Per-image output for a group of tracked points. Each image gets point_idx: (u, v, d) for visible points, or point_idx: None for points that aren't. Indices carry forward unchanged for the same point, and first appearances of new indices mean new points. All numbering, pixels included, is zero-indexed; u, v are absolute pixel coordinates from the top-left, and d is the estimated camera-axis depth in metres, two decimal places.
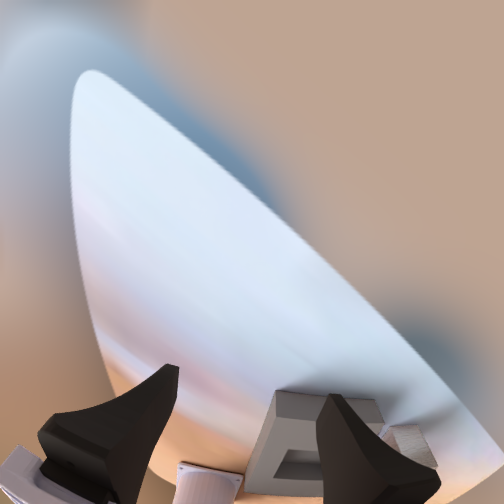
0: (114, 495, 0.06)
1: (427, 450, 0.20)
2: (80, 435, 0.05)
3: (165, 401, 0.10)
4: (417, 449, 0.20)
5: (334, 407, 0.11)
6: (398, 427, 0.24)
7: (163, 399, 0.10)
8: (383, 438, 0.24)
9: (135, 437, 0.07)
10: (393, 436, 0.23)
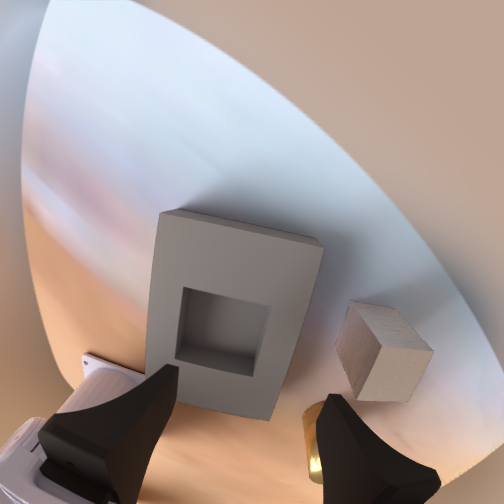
0: (114, 495, 0.06)
1: (413, 332, 0.17)
2: (80, 435, 0.05)
3: (165, 401, 0.10)
4: (395, 327, 0.17)
5: (334, 407, 0.11)
6: (363, 304, 0.21)
7: (163, 399, 0.10)
8: (344, 323, 0.21)
9: (135, 437, 0.07)
10: (355, 310, 0.20)
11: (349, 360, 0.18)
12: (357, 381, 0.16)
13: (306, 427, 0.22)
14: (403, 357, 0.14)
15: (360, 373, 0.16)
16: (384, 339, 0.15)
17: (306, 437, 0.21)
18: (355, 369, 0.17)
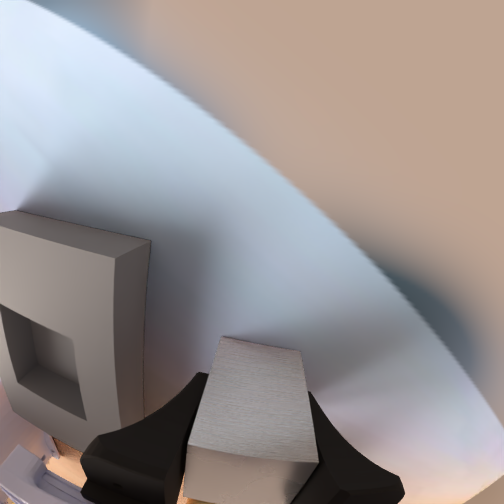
0: None
1: (300, 409, 0.09)
2: (132, 458, 0.05)
3: None
4: (265, 397, 0.10)
5: None
6: (242, 343, 0.13)
7: None
8: None
9: (181, 451, 0.07)
10: None
11: None
12: None
13: None
14: (243, 466, 0.07)
15: None
16: (211, 427, 0.08)
17: None
18: None
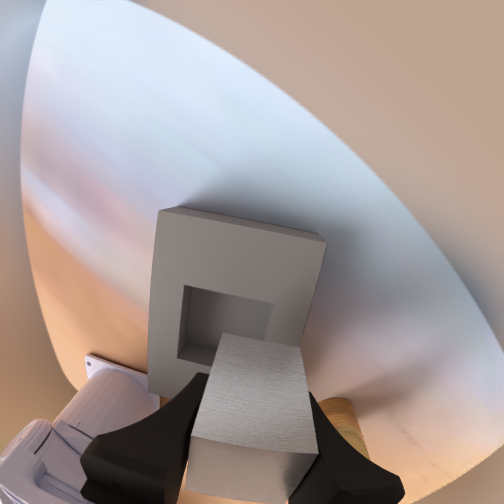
0: None
1: (300, 403, 0.10)
2: (132, 457, 0.05)
3: None
4: (266, 390, 0.10)
5: None
6: (243, 339, 0.14)
7: None
8: None
9: (180, 451, 0.07)
10: (217, 350, 0.13)
11: None
12: None
13: None
14: (245, 457, 0.07)
15: None
16: (213, 419, 0.08)
17: None
18: None
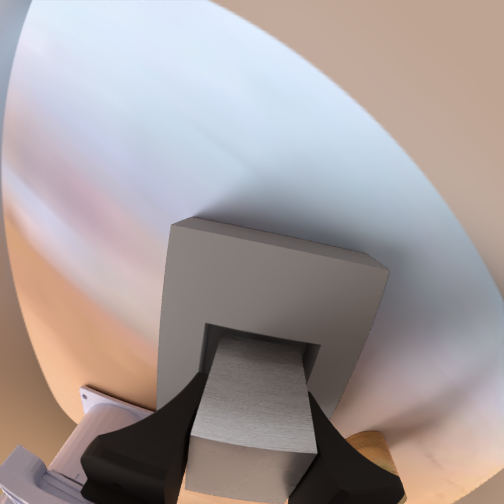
0: None
1: (299, 402, 0.10)
2: (132, 457, 0.05)
3: None
4: (265, 390, 0.10)
5: None
6: (242, 339, 0.14)
7: None
8: None
9: (181, 451, 0.07)
10: (217, 350, 0.13)
11: None
12: None
13: None
14: (244, 456, 0.07)
15: None
16: (212, 418, 0.08)
17: None
18: None
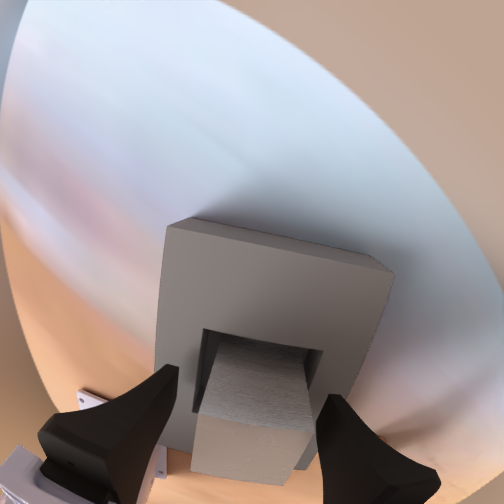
0: (114, 495, 0.06)
1: (298, 387, 0.11)
2: (80, 435, 0.05)
3: (165, 401, 0.10)
4: (266, 375, 0.11)
5: (334, 407, 0.11)
6: None
7: (163, 399, 0.10)
8: None
9: (135, 437, 0.07)
10: (221, 340, 0.14)
11: None
12: None
13: None
14: (247, 435, 0.08)
15: None
16: (218, 400, 0.09)
17: None
18: None
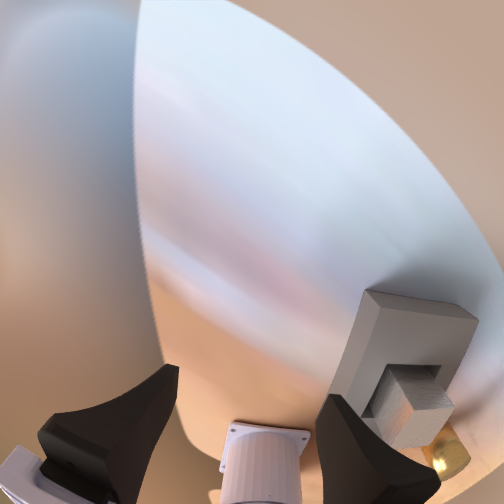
0: (114, 495, 0.06)
1: (437, 387, 0.16)
2: (80, 435, 0.05)
3: (165, 401, 0.10)
4: (422, 384, 0.17)
5: (334, 407, 0.11)
6: None
7: (163, 399, 0.10)
8: None
9: (135, 437, 0.07)
10: (387, 367, 0.19)
11: (381, 413, 0.18)
12: (388, 434, 0.16)
13: None
14: (429, 415, 0.14)
15: (392, 428, 0.15)
16: (415, 401, 0.15)
17: (427, 449, 0.21)
18: (386, 422, 0.16)
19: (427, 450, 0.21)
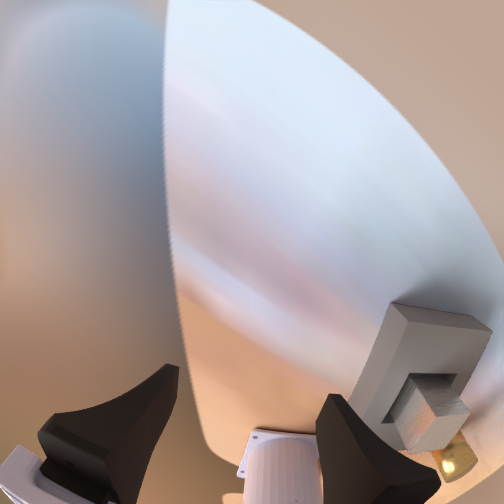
0: (114, 495, 0.06)
1: (454, 394, 0.16)
2: (80, 435, 0.05)
3: (165, 401, 0.10)
4: (440, 391, 0.17)
5: (334, 407, 0.11)
6: None
7: (163, 399, 0.10)
8: None
9: (135, 437, 0.07)
10: (408, 376, 0.19)
11: (401, 419, 0.18)
12: (409, 438, 0.16)
13: None
14: (448, 421, 0.14)
15: (413, 433, 0.16)
16: (436, 408, 0.15)
17: (437, 452, 0.21)
18: (407, 428, 0.16)
19: (437, 452, 0.21)
